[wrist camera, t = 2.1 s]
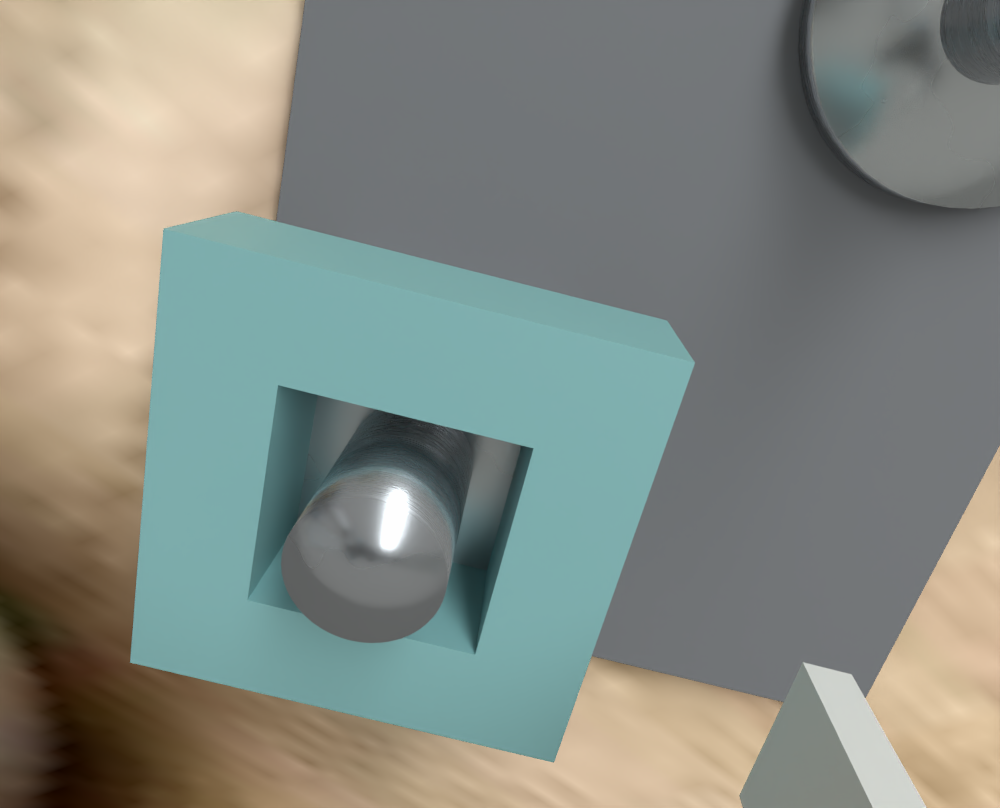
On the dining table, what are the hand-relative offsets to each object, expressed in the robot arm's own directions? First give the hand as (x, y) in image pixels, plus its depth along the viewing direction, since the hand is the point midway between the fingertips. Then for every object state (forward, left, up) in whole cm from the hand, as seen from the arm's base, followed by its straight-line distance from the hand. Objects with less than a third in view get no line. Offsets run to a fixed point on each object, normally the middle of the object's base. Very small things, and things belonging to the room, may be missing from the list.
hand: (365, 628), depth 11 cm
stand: (0, 0, -10) cm, 10 cm away
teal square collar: (0, 0, -6) cm, 6 cm away
